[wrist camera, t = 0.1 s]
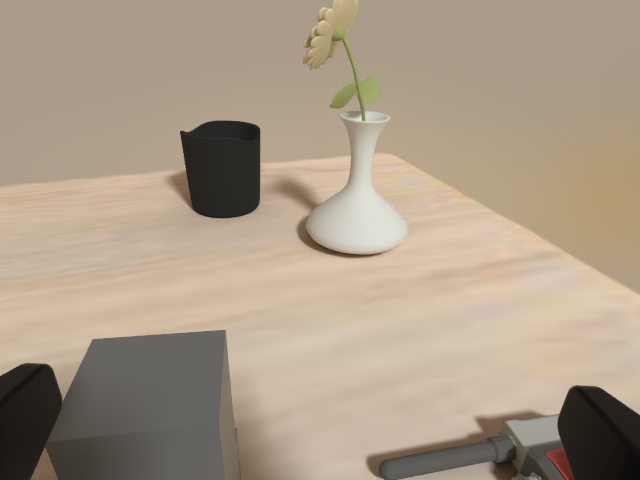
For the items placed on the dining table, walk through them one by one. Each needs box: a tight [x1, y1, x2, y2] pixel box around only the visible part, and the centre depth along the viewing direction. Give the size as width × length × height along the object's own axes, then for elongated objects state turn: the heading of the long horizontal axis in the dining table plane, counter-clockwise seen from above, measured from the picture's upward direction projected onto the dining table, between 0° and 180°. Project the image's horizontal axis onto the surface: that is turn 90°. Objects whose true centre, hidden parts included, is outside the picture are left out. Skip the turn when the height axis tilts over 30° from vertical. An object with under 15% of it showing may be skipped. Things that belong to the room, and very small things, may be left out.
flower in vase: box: [303, 0, 408, 254], centre depth 43 cm, size 13×11×25 cm
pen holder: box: [180, 121, 260, 218], centre depth 54 cm, size 9×9×10 cm
